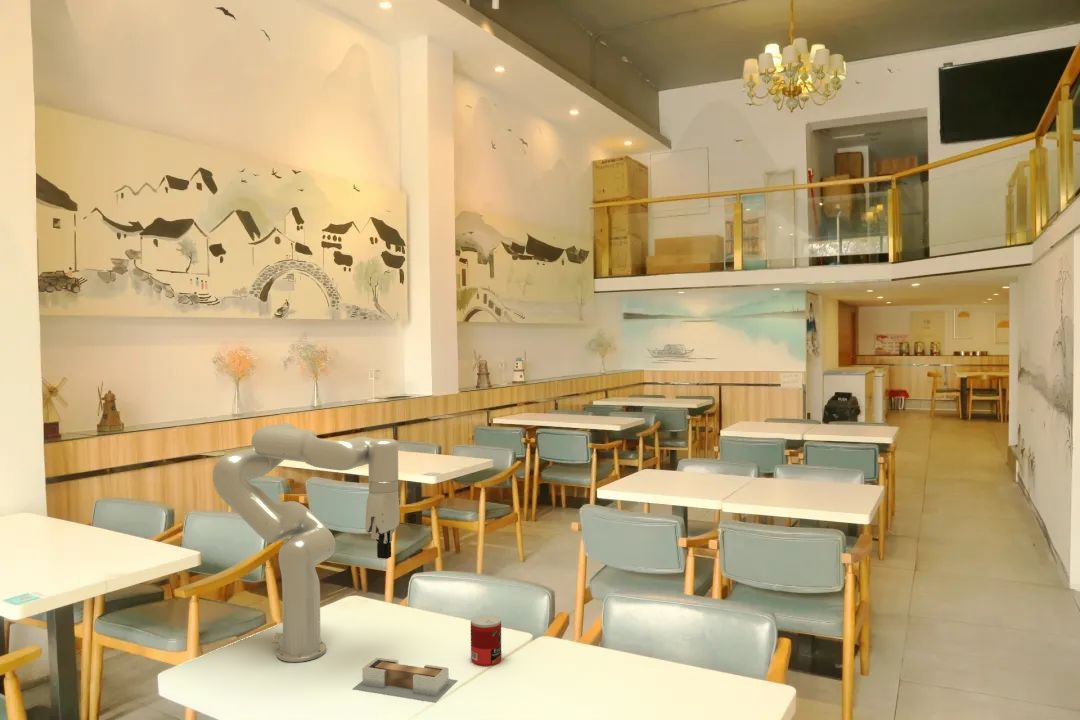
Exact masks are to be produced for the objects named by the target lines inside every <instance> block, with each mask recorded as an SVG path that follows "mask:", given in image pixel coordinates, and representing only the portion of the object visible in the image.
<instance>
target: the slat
mask: <svg viewBox="0 0 1080 720" xmlns="http://www.w3.org/2000/svg"><path fill="white" fill-rule="evenodd" d="M375 668H377V669H383V670H387V685H388V686H395V687H401V688H407V689H413V676H414V675H415V674H417V675H423V676H430V677H435V676H436V675H437V674H438V673H439V672H440V671H441V670H436V669H429V668H424V667H421V666H414V665H408V664H400V663H398V664H395V663H388V662H381V663H379V664H378V665H377V666H375Z"/></svg>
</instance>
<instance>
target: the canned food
mask: <svg viewBox="0 0 1080 720" xmlns="http://www.w3.org/2000/svg"><path fill="white" fill-rule="evenodd" d="M470 660H471V663H472V664H473V665H476V666H479V667H491V666H495V665H498V664H499V663H501V661H502V619H501V617H499V616H497V615H495V614H479V615H475V616H473V617H472V618H471V619H470Z"/></svg>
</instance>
